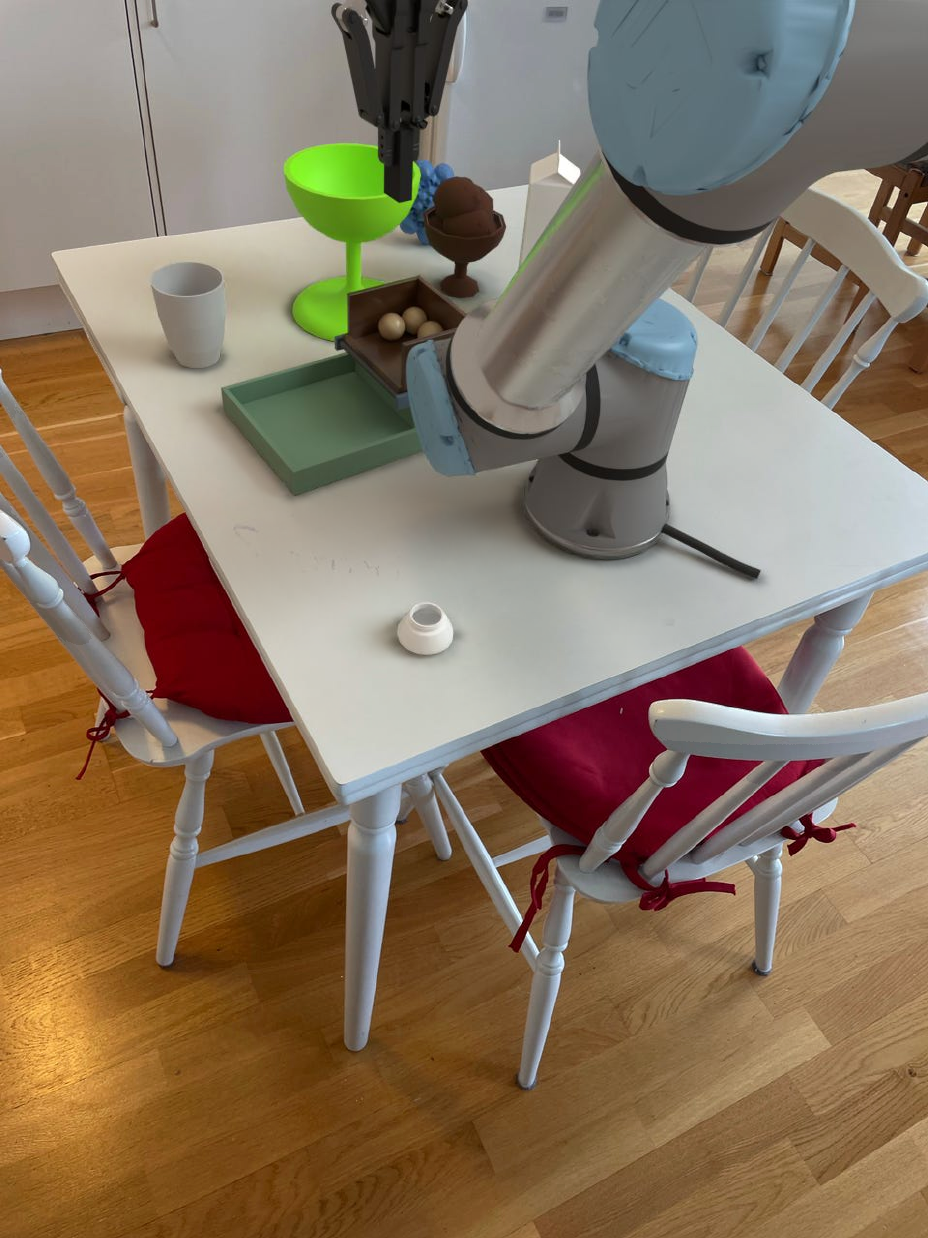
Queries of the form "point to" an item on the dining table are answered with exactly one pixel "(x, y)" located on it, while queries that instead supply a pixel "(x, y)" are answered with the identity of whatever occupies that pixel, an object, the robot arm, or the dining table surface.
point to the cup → (191, 311)
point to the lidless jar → (425, 629)
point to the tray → (321, 421)
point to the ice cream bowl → (462, 230)
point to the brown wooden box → (391, 356)
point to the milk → (545, 196)
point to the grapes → (425, 197)
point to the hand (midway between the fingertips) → (397, 196)
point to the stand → (400, 399)
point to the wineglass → (341, 221)
